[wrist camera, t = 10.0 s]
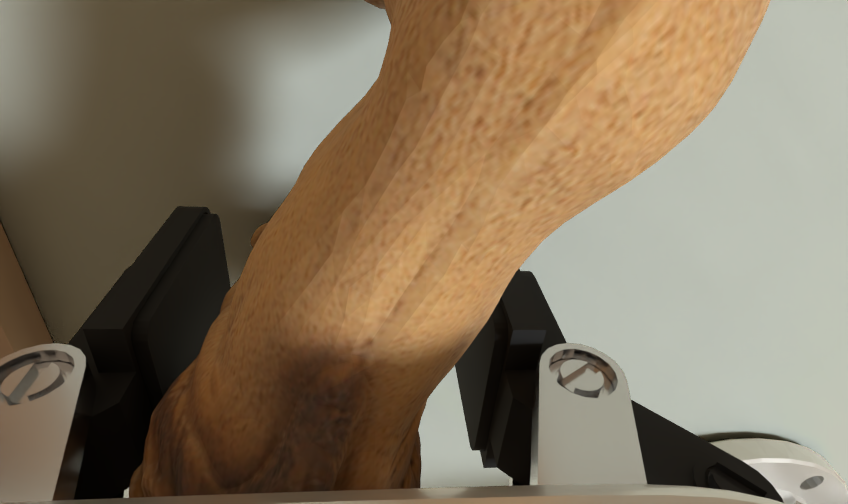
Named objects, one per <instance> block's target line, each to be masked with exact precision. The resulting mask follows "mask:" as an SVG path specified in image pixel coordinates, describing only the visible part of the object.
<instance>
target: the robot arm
mask: <svg viewBox="0 0 848 504" xmlns="http://www.w3.org/2000/svg"><path fill="white" fill-rule="evenodd" d="M230 288H231V287H230V281H229V275H228V268H227V262H226V256H225V250H224V243H223V237H222V231H221V224H220V219H219V216H218V215H217V214H211V213H210V211H209V209H208V208H207V207H184V206H178V207H177V208H176V209H175V210H174V211H173V213H172V214H171V215H170V217H169V218H168V219H167V220H166V222H165V223H164V224H163V226H162V227H161V228H160V229H159V231H158V232H157V233H156V235H155V236H154V237H153V239H152V240H151V241H150V242H149V244H148V245H147V246H146V248H145V249H144V250H143V251H142V253H141V254H140V255H139V257H138V258H137V259H136V261H135V262H134V263H133V264H132V266H130V267H129V268H128V269H126V270H125V272H124V273H123V274H122V276H121V277H120V278H119V279H118V281H117V282H116V283H115V284H114V286H113V287H112V288H111V290H110V291H109V292H108V293H107V295H106V296H105V297H104V299H103V300H102V301H101V302H100V304H99V305H98V306H97V308H96V309H95V310H94V311H93V313H92V314H91V315H90V317H89V318H88V319H87V320H86V322H85V323H84V324H83V325H82V327H81V328H80V329H79V331H78V332H77V333H76V334H75V336H74V337H73V338H72V340H71V341H70V342H69V343H68V345H67V344H59V343H54V344H42V345H37V346H33V347H29V348H25V349H22V350H19V351H17V352H14V353H12V354H9V355H7V356H5V357H3V358H2V359H0V504H848V488H847V485H846V483H845V481H844V480H843V479H842V478H841V477H840V476H839V474H838V473H837V472H836V471H835V470H834V469H833V468H832V466H831V465H830V464H829V463H828V462H827V461H826V460H825V459H824V457H822V456H821V455H819V454H818V453H816V452H814V451H813V450H811V449H810V448H808V447H805V446H801V445H798V444H795V443H791V442H788V441H782V440H773V439H763V438H746V439H727V440H721V441H715V442H707V441H705V440H703V439H702V438H700V437H698V436H696V435H694V434H693V433H691V432H689V431H687V430H685V429H683V428H682V427H680V426H678V425H676V424H674V423H673V422H671V421H669V420H667V419H665V418H663V417H662V416H660V415H658V414H656V413H654V412H653V411H651V410H649V409H647V408H645V407H643V406H642V405H640V404H638V403H636V402H634V401H633V400H631V398H630V393H629V388H628V383H627V379H626V377H625V374H624V372H623V370H622V369H621V368H620V367H619V365H618V364H617V363H616V362H615V361H614V360H613V359H611V358H610V357H609V356H607V355H606V354H604V353H602V352H600V351H598V350H596V349H594V348H592V347H589V346H585V345H582V344H574V343H566V341H565V339H564V336H563V334H562V332H561V330H560V328H559V326H558V324H557V322H556V320H555V318H554V316H553V314H552V312H551V309H550V307H549V305H548V303H547V301H546V299H545V297H544V295H543V293H542V291H541V289H540V287H539V285H538V283H537V280H536V278H535V276H534V275H533V273H532V272H530V271H520V269H518V270H517V271H516V273H515V274H514V276H513V277H512V279H511V281H510V282H509V284H508V286H507V287H506V289H505V291H504V292H503V294H502V296H501V298H500V300H499V302H498V304H497V305H496V307H495V309H494V311H493V312H492V314H491V316H490V317H489V319H488V321H487V322H486V324H485V325H484V326H483V328H482V329H481V331H480V332H479V333H478V335H477V336H476V338H475V339H474V340H473V342H472V343H471V344H470V346H469V347H468V349H467V350H466V351H465V353H464V354H463V355H462V356H461V358H460V359H459V360H458V361H457V363H456V364H455V368H456V373H457V378H458V384H459V389H460V394H461V400H462V405H463V410H464V415H465V421H466V426H467V431H468V437H469V442H470V447H471V449H472V450H480V452H481V457H482V462H483V467H484V468H495V467H497V468H499V469H500V470H501V471H503V472H504V473H506V474H507V475H508V476H510V478H509V485H508V486H488V487H450V488H413V489H378V490H346V491H314V492H283V493H253V494H222V495H192V496H165V497H138V498H129V486H130V481H131V477H132V475H133V473H134V471H135V470H136V469H137V468H138V467H139V466H140V465H141V464H142V461H143V452H144V446H145V439H146V437H147V434H148V430H149V425H150V419H151V415H152V413H153V411H154V409H155V408H156V406H157V405H158V404H159V402H160V401H161V399H162V398H163V396H164V395H165V393H166V392H167V390H168V389H169V387H170V386H171V384H172V383H173V382H174V381H175V379H176V378H177V377H178V376H179V375H180V374H181V373H182V372H183V371H184V370H185V369H186V368H187V367H188V366H189V365H190V364H191V363H192V362H193V361H194V360H195V359H196V358H197V356H198V354H199V353H200V350H201V347H202V345H203V342H204V340H205V337H206V335H207V333H208V331H209V329H210V327H211V325H212V323H213V322H214V321H215V319H216V318H217V317H218V316H219V314H220V310H221V306H222V303H223V300H224V297H225V295H226V294H227V292H228V291H229V290H230Z"/></svg>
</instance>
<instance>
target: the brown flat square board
mask: <svg viewBox="0 0 848 504" xmlns="http://www.w3.org/2000/svg"><path fill="white" fill-rule="evenodd" d="M42 344H54V343H53V341H52V339H51V337H50V334H49V332H48V330H47V328H46V325H45V323H44V321H43V318H42V316H41V314H40V312H39V309H38V307H37V305H36V302H35V300H34V298H33V296H32V293H31V291H30V289H29V286H28V284H27V282H26V280H25V277H24V275H23V273H22V270H21V268H20V266H19V264H18V261H17V259H16V257H15V254H14V252H13V250H12V248H11V245H10V243H9V241H8V239H7V236H6V234H5V232H4V229H3V227H2V225H1V223H0V359H2V358H3V357H5V356H7V355H9V354H12V353H14V352H17V351H19V350H22V349H25V348H29V347H33V346H37V345H42Z"/></svg>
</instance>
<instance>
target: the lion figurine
mask: <svg viewBox="0 0 848 504" xmlns="http://www.w3.org/2000/svg"><path fill="white" fill-rule="evenodd" d="M364 1H366V2H368V3H370V4H372V5H374V6H376V7H378V8H382V9H386V12H387V15H388V18H389V21H390V23H391V32H390V37H389V42H388V46H387V50H386V54H385V57H384V61H383V64H382V68H381V71H380V74H379V77H378V79H377V80H376V82H375V83H374V84H373V86H372V87H371V88H370V90H369V91H368V92H367V94H366V95H365V96H364V97H363V98H362V99H361V100H360V101H359V102H358V103H357V104H356V105H355V107H354V108H353V109H352V110H351V111H350V112H349V113H348V114H347V115H346V116H345V117H344V118H343V119H342V120H341V121H340V122H339V123H338V124H337V125H336V126H335V128H334V129H333V130H332V131H331V132H330V133H329V134H328V135H327V137H326V138H325V139H324V140H323V141H322V142H321V143H320V145H319V146H318V147H317V148H316V150H315V151H314V152H313V154H312V155H311V157H310V158H309V160H308V161H307V163H306V164H305V166H304V168H303V170H302V171H301V173H300V175H299V177H298V179H297V181H296V184H295V185H294V187H293V188H292V190H291V191H290V193H289V194H288V196H287V197H286V199H285V200H284V202H283V203H282V204H281V206H280V207H279V208H278V210H277V211H276V212H275V214H274V215H273V216H272V218H271V219H270V221H269V222H268V223H265V224H263V225H261V226H260V227H259V228H257V229H256V231H255V232H254V234H253V236H252V238H251V245H252V247H253V249H252V251H251V253H250V255H249V257H248V260H247V262H246V264H245V267H244V269H243V271H242V274H241V276H240V278H239V279H238V281H237V282H236V283H235V284H234V285H233V286H232V287H231V288H230V290H229V291H228V292H227V294H226V295H225V297H224V300H223V303H222V306H221V310H220V314H219V316H218V317H217V318H216V319H215V321H214V322H213V323H212V325H211V327H210V329H209V331H208V333H207V335H206V337H205V340H204V342H203V345H202V347H201V350H200V353H199V354H198V356H197V358H196V359H195V360H194V361H193V362H192V363H191V364H190V365H189V366H188V367H187V368H186V369H185V370H184V371H183V372H182V373H181V374H180V375H179V376H178V377H177V378H176V379H175V381H174V382H173V383H172V384H171V386H170V387H169V389H168V390H167V392H166V393H165V395H164V396H163V398H162V399H161V401H160V402H159V404H158V405H157V406H156V408H155V409H154V411H153V413H152V415H151V419H150V425H149V430H148V434H147V437H146V439H145V446H144V452H143V461H142V464H141V465H140V466H139V467H138V468H137V469H136V470H135V471H134V473H133V475H132V477H131V481H130V486H129V498H138V497H165V496H192V495H222V494H253V493H283V492H314V491H346V490H378V489H413V488H420V477H421V455H420V447H421V444H420V437H419V432H418V428H419V424H420V420H421V416H422V414H423V411H424V409H425V406H426V402H427V398H428V397H429V396H430V394H431V393H432V392H433V390H434V389H435V388H436V386H437V385H438V384H439V383H440V382H441V380H442V379H443V378H444V377H445V376H446V375H447V373H448V372H449V371H450V370H451V369H452V368H453V367H454V365H455V364H456V363H457V361H458V360H459V359H460V358H461V356H462V355H463V354H464V353H465V351H466V350H467V349H468V347H469V346H470V344H471V343H472V342H473V340H474V339H475V338H476V336H477V335H478V333H479V332H480V331H481V329H482V328H483V326H484V325H485V324H486V322H487V321H488V319H489V317H490V316H491V314H492V312H493V311H494V309H495V307H496V305H497V304H498V302H499V300H500V298H501V296H502V294H503V292H504V291H505V289H506V287H507V286H508V284H509V282H510V281H511V279H512V277H513V276H514V274H515V273H516V271H517V270H518V269H519V268H520V266H521V265H522V264H523V263H524V261H525V260H526V259H527V258H528V257H529V256H530V254H531V253H532V252H533V251H534V250H535V249H536V248H537V247H538V245H539V244H540V243H541V242H542V241H543V240H544V239H545V238H546V237H548V236H549V235H550V234H551V233H552V232H554V231H555V230H556V229H557V228H558V227H560V226H561V225H562V224H563V223H565V222H566V221H568V220H569V219H571V218H572V217H574V216H575V215H577V214H578V213H580V212H581V211H583V210H585V209H586V208H588V207H589V206H591V205H592V204H594V203H595V202H597V201H599V200H600V199H602V198H603V197H605V196H607V195H608V194H610V193H612V192H613V191H615V190H616V189H618V188H620V187H621V186H623V185H624V184H626V183H628V182H629V181H631V180H632V179H633V178H635V177H636V176H638V175H639V174H640V173H642V172H643V171H645V170H646V169H647V168H649V167H650V166H652V165H653V164H654V163H656V162H657V161H659V160H660V159H661V158H662V157H663V156H664V155H666V154H667V153H668V152H669V151H670V150H672V149H673V148H674V147H675V146H676V145H677V144H679V143H680V142H681V141H682V140H683V139H685V138H686V137H687V136H688V135H689V134H690V133H691V132H692V131H693V130H694V129H695V128H696V127H697V126H698V125H699V124H700V123H701V122H702V121H703V120H704V119H705V118H706V117H707V115H708V114H709V113H710V112H711V111H712V110H713V108H714V107H715V106H716V104H717V103H718V101H719V100H720V98H721V97H722V95H723V94H724V92H725V91H726V89H727V88H728V86H729V85H730V83H731V82H732V80H733V78H734V76H735V74H736V72H737V70H738V68H739V66H740V64H741V62H742V60H743V58H744V56H745V54H746V52H747V50H748V48H749V46H750V44H751V42H752V40H753V38H754V36H755V34H756V32H757V30H758V28H759V26H760V24H761V22H762V20H763V17H764V15H765V12H766V10H767V7H768V5H769V2H770V0H364Z"/></svg>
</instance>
